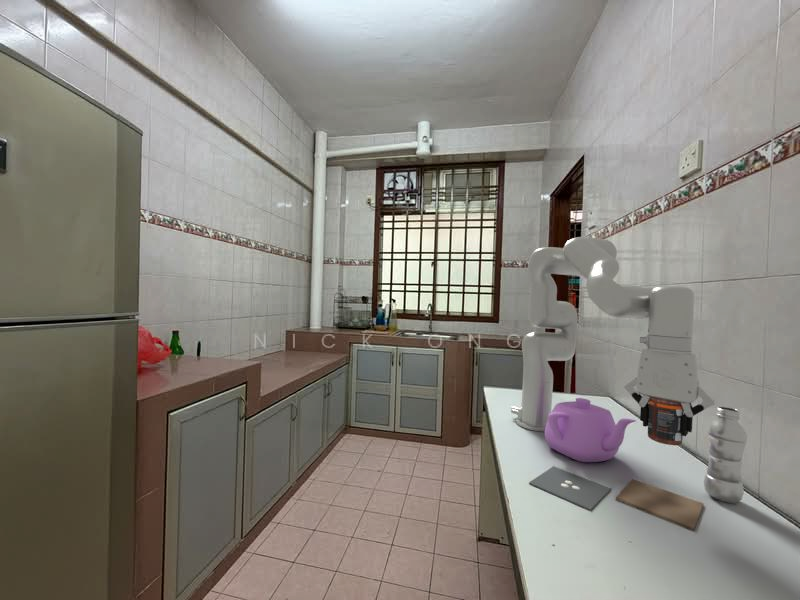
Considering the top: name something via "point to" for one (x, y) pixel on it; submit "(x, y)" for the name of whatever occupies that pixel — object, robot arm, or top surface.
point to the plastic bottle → (725, 456)
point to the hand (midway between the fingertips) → (664, 428)
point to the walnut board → (661, 503)
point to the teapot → (584, 431)
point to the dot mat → (571, 487)
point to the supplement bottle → (665, 421)
